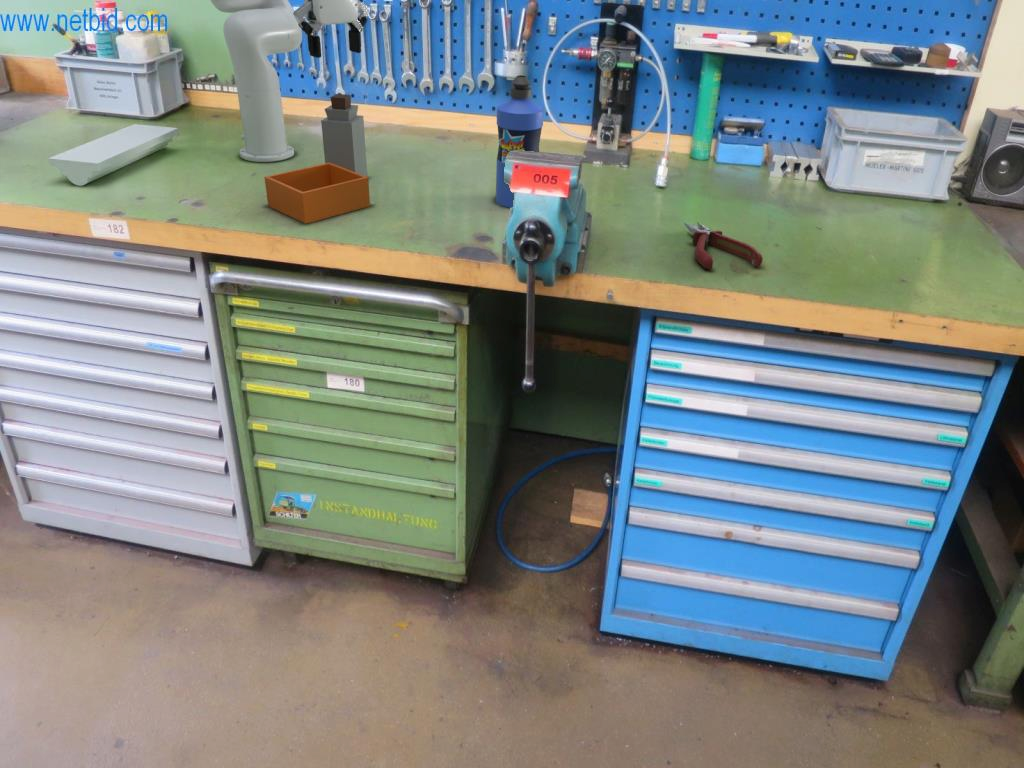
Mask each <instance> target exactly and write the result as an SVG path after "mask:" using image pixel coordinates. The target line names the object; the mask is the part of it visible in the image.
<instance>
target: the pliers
mask: <svg viewBox="0 0 1024 768" xmlns="http://www.w3.org/2000/svg"><path fill="white" fill-rule="evenodd" d="M683 225H684V226H685V227H686V229H687V230H688V232H690V234H691V235H692V244H693V246H696V247H695V250H694V258H695V260H696V262H697V263H698V264H699V265H700V266H701V267H703V269H705V270H712V269H713V265H714V260H713V257H712V255H711V254H709V253H708V251H706V244H708V245H709V246H711V247H715V248H717V249H721V250H723V251H726V252H728V253H731V254H734V255H737V256H739V257H741V258H743V259H746V260H747V261H748V262H749V263H750V264H751V265H752V266H753V267H760V266H761V265H762V264H763V261H764V259H763V255H762V253H760V252H759V251H758V250H757V249H756V248H755V247H754V246H751V245H750V244H747V243H746V242H743V241H740V240H737V239H735V238H732V237H728V236H727V235H723V231H722V230H718V229H717V230H712V231H711V229H710V228H709V227H707V226H706V225H704V224H702V223H700V222H697V225H695V224H693V223H689V222H685V221H684V223H683Z"/></svg>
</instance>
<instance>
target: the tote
mask: <svg viewBox="0 0 1024 768" xmlns="http://www.w3.org/2000/svg"><path fill="white" fill-rule="evenodd" d="M263 179H264V185H265V192H266V200H267V206H268V207H270V208H272V209H274V210H276V211H278V212H281V213H282V214H284V215H286V216H288V217H291V218H293V219H294V220H296V221H298V222H301V223H303V224H305V225H306V224H310V223H314V222H318V221H322V220H325V219H329V218H332V217H337V216H340V215H343V214H347V213H352V212H354V211H358V210H361V209H366V208H369V207H371V197H370V184H369V182H370V181H369V176H367V177H366V176H363V175H361V174H358V173H355V172H353V171H350V170H348V169H345V168H343V167H340V166H337V165H335V164H332V163H330V162H329V163H325V162H324V163H320V164H315V165H311V166H307V167H306V166H305V167H302V168H297V169H293V170H288V171H285V172H280V173H275V174H271V175H266V176H263Z"/></svg>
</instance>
